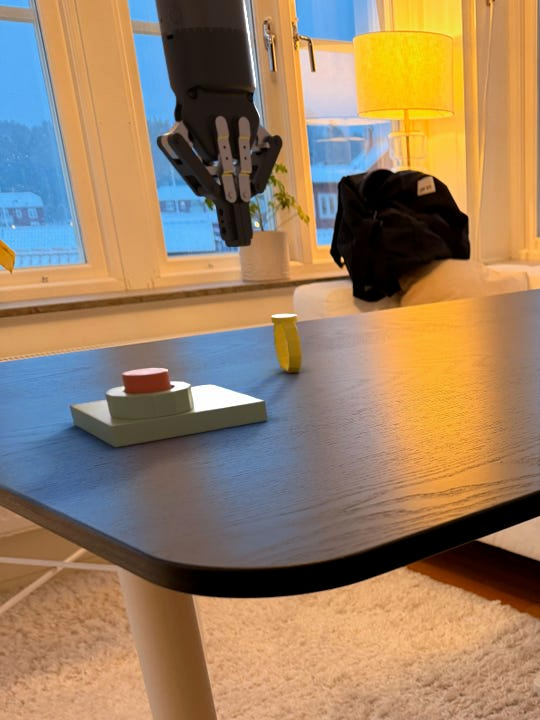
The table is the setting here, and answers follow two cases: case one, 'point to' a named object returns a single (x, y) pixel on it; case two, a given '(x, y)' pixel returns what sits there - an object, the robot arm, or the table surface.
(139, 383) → the button
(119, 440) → the console
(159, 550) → the table surface
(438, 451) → the table surface
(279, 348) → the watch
